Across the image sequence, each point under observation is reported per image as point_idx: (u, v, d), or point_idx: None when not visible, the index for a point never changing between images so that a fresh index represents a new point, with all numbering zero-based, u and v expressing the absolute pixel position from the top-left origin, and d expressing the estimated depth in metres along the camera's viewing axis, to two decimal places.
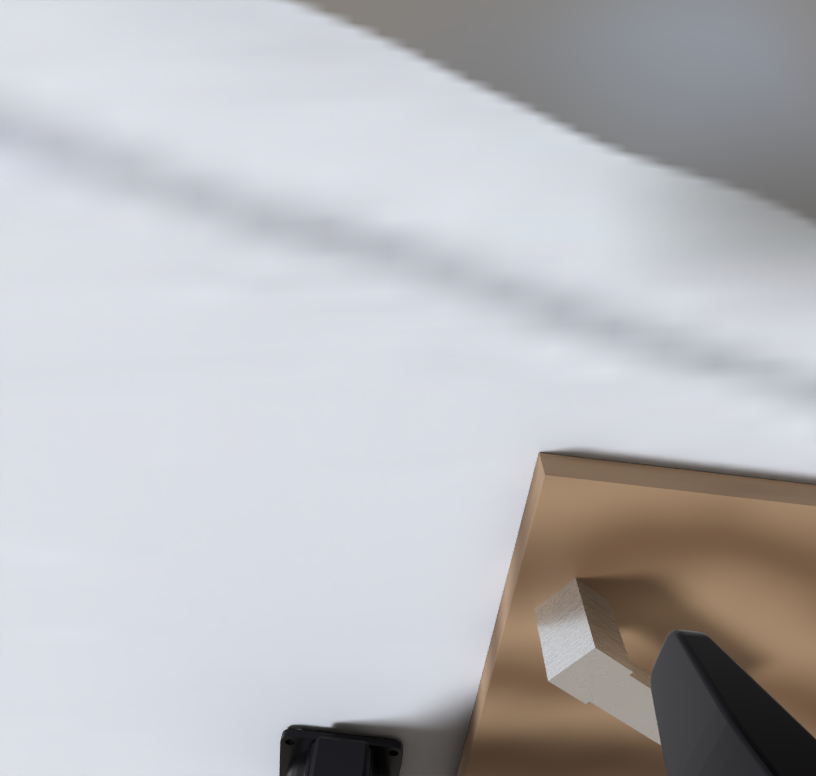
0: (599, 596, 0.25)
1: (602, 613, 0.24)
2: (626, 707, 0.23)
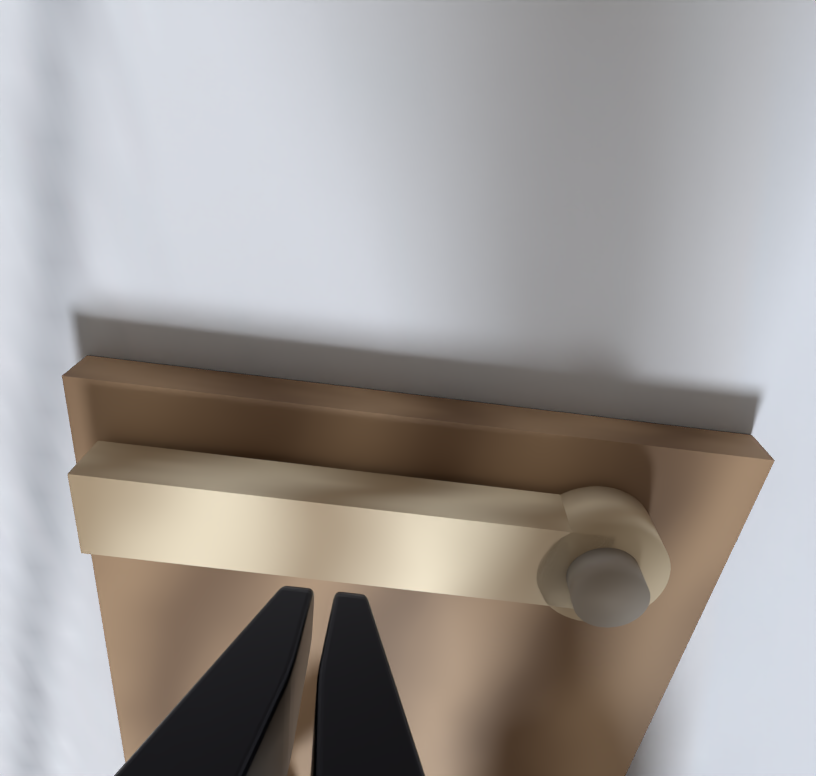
0: None
1: None
2: None
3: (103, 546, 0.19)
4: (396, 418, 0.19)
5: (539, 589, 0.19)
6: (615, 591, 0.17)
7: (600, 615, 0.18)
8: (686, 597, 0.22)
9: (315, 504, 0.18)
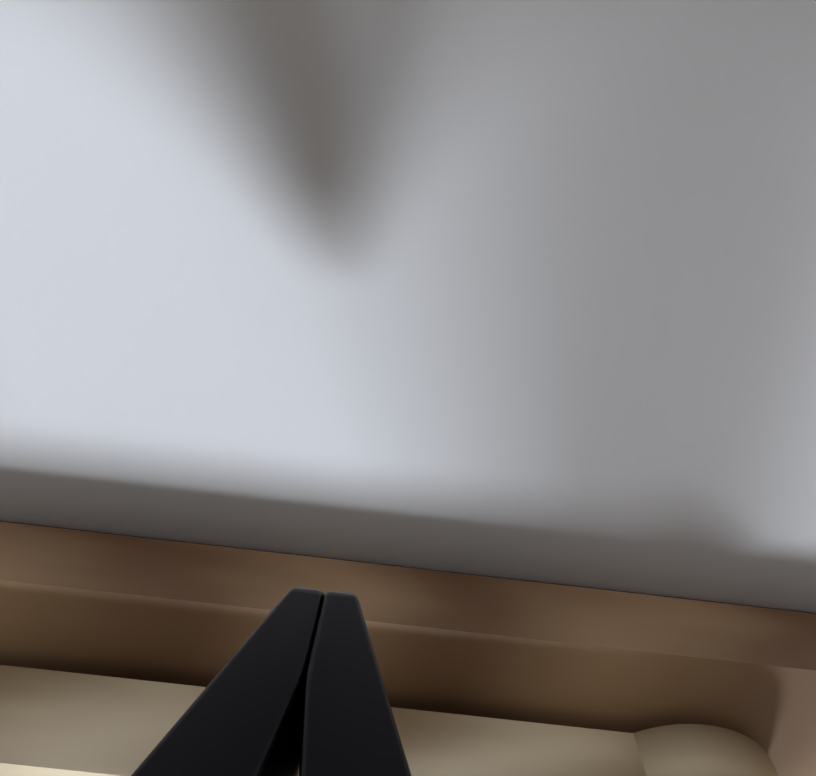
0: None
1: None
2: None
3: None
4: (372, 624, 0.12)
5: None
6: None
7: None
8: None
9: None
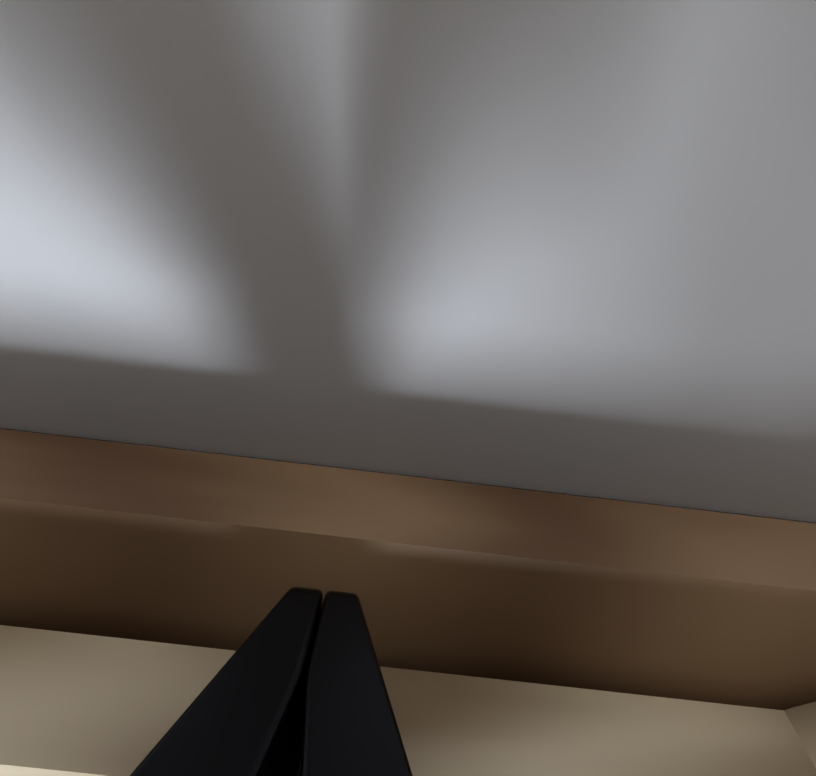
0: None
1: None
2: None
3: None
4: (419, 550, 0.08)
5: None
6: None
7: None
8: None
9: None
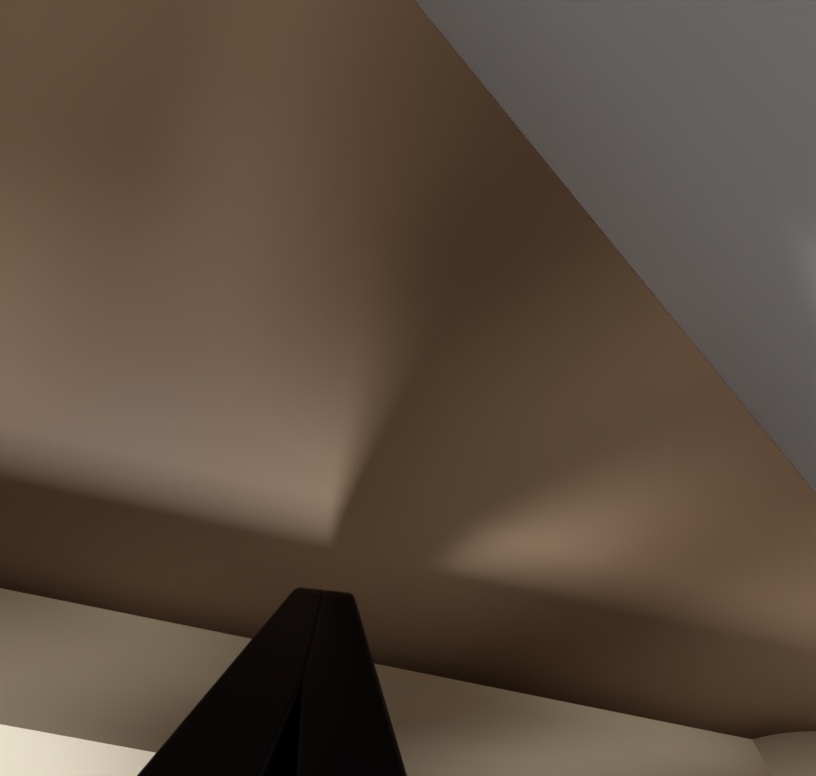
0: None
1: None
2: None
3: None
4: (732, 409, 0.07)
5: None
6: None
7: None
8: None
9: None
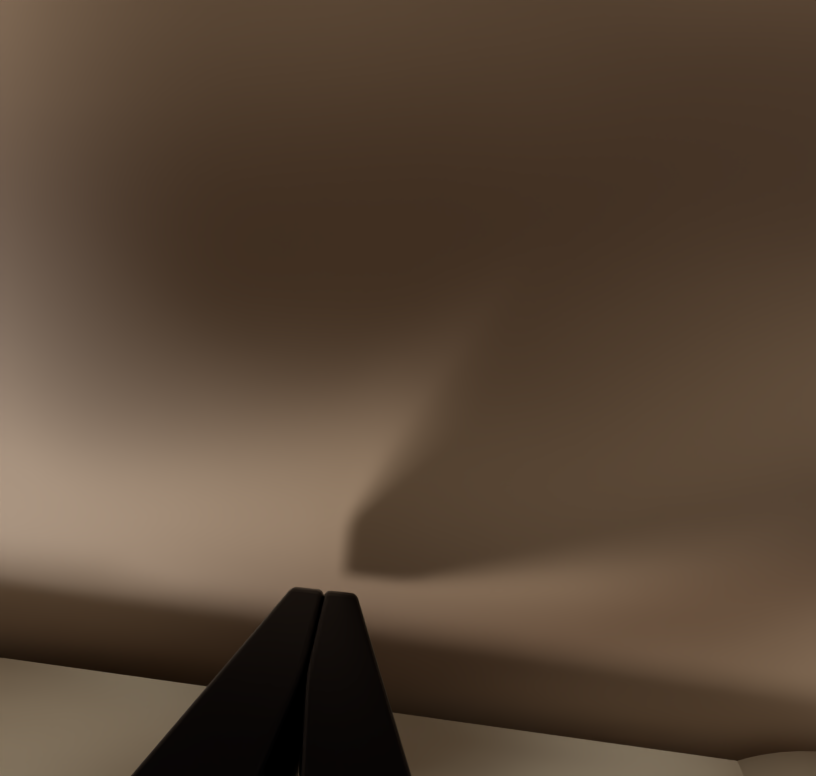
0: None
1: None
2: None
3: None
4: None
5: None
6: None
7: None
8: None
9: None
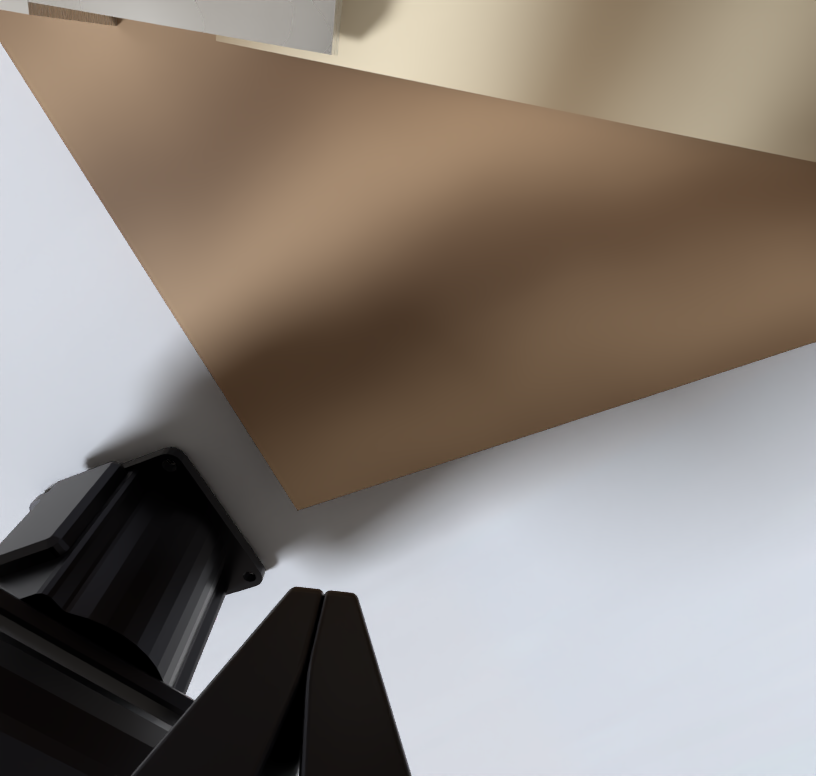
0: None
1: None
2: None
3: None
4: None
5: None
6: None
7: None
8: None
9: None
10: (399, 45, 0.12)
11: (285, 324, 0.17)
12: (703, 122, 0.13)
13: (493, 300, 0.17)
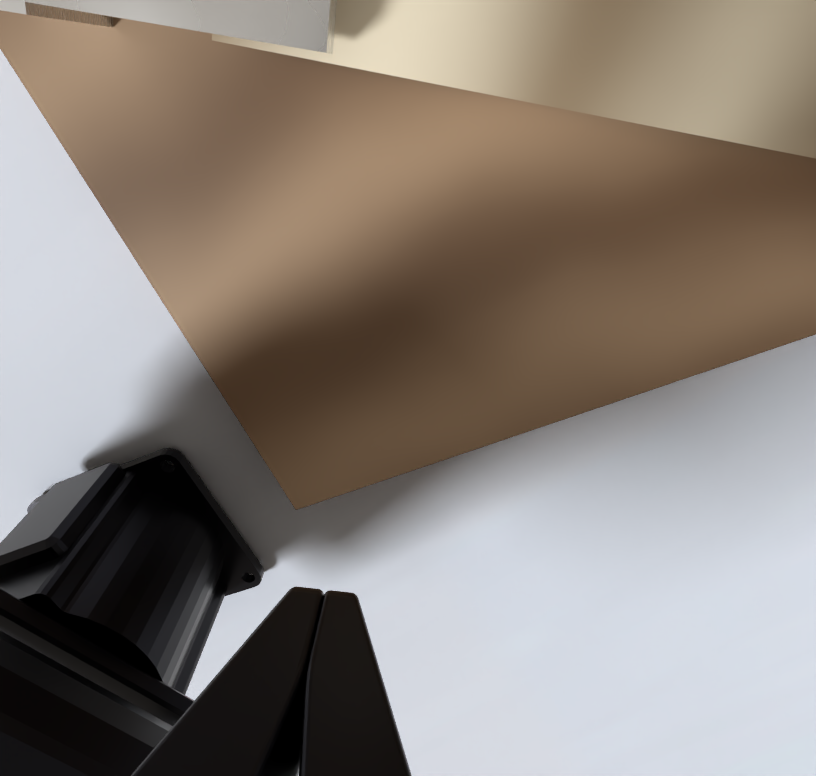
0: None
1: None
2: None
3: None
4: None
5: None
6: None
7: None
8: None
9: None
10: (393, 43, 0.12)
11: (282, 323, 0.17)
12: (695, 118, 0.13)
13: (489, 297, 0.17)
